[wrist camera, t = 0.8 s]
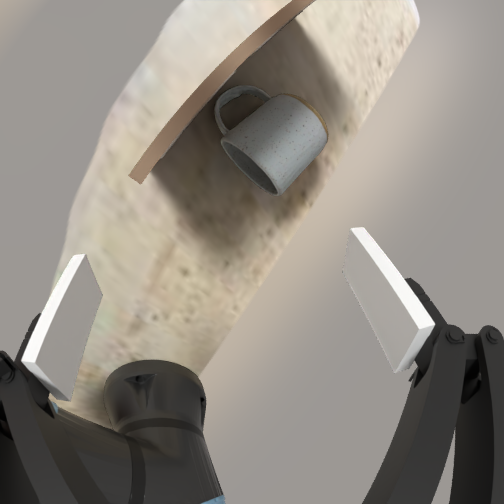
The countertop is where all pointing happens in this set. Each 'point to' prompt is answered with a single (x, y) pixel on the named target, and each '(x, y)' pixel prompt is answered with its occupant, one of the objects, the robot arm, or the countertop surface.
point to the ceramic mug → (273, 138)
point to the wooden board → (213, 87)
